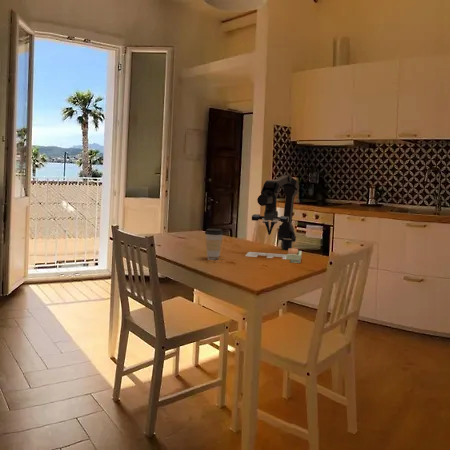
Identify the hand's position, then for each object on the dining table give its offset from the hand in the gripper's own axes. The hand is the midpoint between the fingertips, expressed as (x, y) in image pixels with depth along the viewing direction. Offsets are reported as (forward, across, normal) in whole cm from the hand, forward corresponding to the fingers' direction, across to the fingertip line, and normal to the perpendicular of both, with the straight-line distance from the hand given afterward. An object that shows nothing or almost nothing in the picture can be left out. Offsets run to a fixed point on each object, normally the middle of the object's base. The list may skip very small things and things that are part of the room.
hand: (269, 234), depth 242 cm
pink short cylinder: (+10, +13, 0) cm, 16 cm away
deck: (+12, +3, -2) cm, 13 cm away
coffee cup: (+12, -26, -16) cm, 33 cm away
